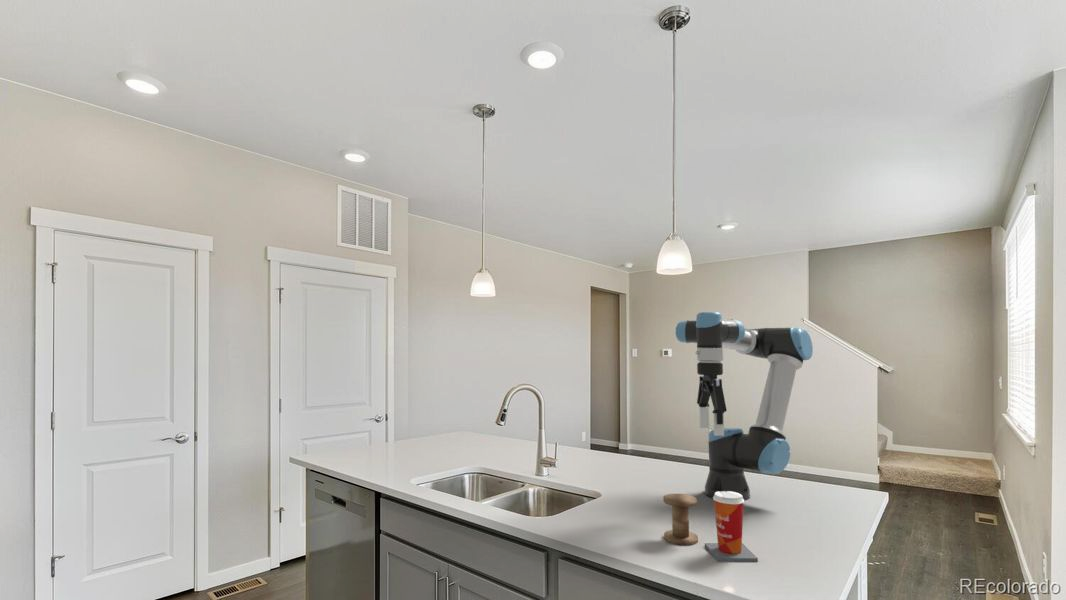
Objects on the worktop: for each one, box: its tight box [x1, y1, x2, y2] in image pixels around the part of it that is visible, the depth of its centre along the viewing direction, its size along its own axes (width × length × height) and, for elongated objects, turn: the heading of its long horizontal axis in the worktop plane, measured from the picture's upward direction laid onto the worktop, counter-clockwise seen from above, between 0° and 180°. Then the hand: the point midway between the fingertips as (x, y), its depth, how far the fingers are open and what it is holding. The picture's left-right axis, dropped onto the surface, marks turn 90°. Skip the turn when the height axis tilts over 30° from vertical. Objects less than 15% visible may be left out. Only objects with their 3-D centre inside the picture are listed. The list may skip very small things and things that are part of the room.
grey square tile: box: [704, 542, 759, 563], centre depth 138 cm, size 10×10×1 cm
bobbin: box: [662, 493, 699, 546], centre depth 149 cm, size 9×9×11 cm
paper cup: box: [712, 491, 745, 554], centre depth 139 cm, size 8×8×14 cm
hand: (711, 431), depth 165 cm, fingers open, 13 cm apart
